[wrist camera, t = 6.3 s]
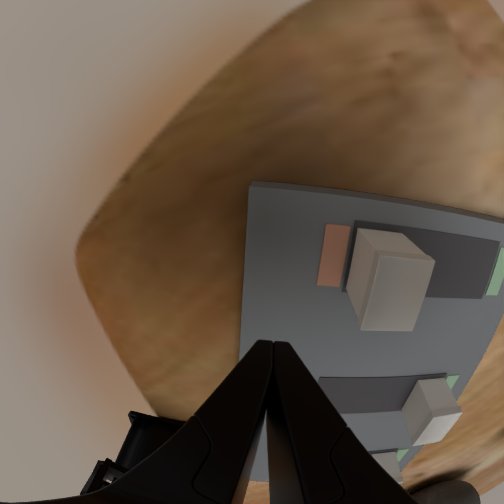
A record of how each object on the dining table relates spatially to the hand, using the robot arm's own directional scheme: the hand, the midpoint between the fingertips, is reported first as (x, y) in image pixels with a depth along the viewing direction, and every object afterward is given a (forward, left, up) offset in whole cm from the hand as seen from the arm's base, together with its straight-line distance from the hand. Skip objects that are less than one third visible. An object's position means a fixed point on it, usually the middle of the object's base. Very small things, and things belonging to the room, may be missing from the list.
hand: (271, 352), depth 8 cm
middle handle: (+12, -10, -7) cm, 17 cm away
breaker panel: (+8, -11, -9) cm, 16 cm away
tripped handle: (+5, 0, -7) cm, 9 cm away
